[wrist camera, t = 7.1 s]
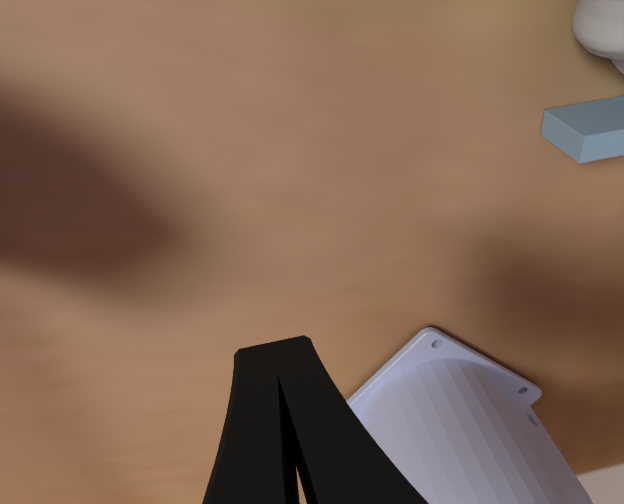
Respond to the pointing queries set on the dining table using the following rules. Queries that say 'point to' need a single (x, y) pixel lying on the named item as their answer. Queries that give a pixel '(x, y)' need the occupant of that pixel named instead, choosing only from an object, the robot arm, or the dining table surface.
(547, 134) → the socket
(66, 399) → the dining table surface
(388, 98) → the dining table surface
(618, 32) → the garlic
